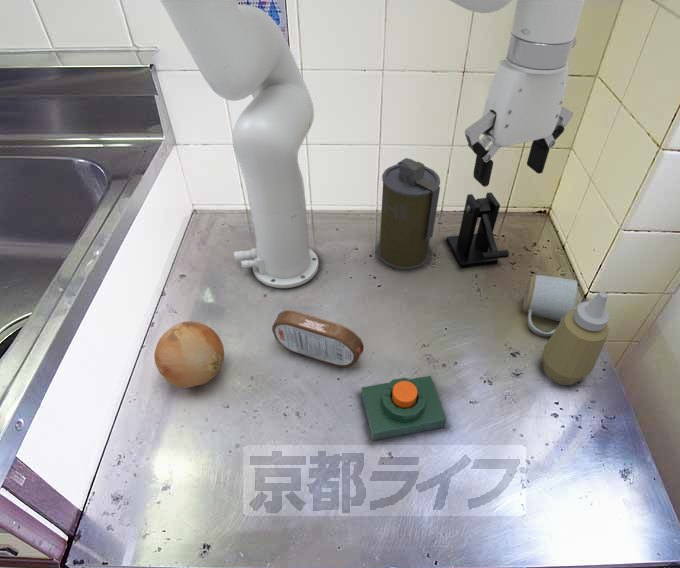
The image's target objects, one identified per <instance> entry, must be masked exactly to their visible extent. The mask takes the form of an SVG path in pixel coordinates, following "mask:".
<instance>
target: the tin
mask: <svg viewBox="0 0 680 568" xmlns="http://www.w3.org/2000/svg"><path fill="white" fill-rule="evenodd" d="M271 331H272V334H273V336H274V338H275V340H276V341H277V342H278V343H279V344H280V345H281V346H282V347H284V348H285V349H287V350H288V351H290V352H292V353H295V354H298V355H301V356H304V357H307V358H310V359H313V360H317V361H320V362H321V363H325V364H329V365H332V366H335V367H339V368H349V367H353V366H354V365H356V363H357V362H358V361H359V359H360V357H361V355H362V354H363V352H364V342H363V341H362V339H361V338H360V336H359V335H358V334H357V333H356V332H355V331H354V330H351V329H350V328H349V327H347V326H345V325H342V324H340V323H336V322H333V321H331V320H326V319H323V318H319V317H316V316H314V315H311V314H307V313H304V312H302V311H301V312H300V311H298V310H292V309H287V310H283V311H280V312H279V313H278V314H277V317H276V319H275V321H274V322H273V323H272V326H271Z"/></svg>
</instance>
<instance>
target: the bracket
mask: <svg viewBox="0 0 680 568" xmlns="http://www.w3.org/2000/svg"><path fill="white" fill-rule="evenodd" d="M485 198H488V202H489V205H490V209H491V211H490V213H489V214H488V218H489V221H490V225H491V228H492V232H493V233H494V230H495V226H496V222H497V220H498V219H497V218H498V216H499V211H500V207H501V203H499V202H498V199H497V198H496V196H494V193H493V192H487V193H486V195H485ZM476 199H477V198H475V196H474V194H472V193H468V194H467V195H466V199H465V200H466V201H465V205H464V210H463V214H462V219H461V222H460V223H461V224H460V228H459V233H458V235H452V236H451V235H449V236H446V240H445V242H446V244H447V245H448V247H449V250H450V252H451V253H452V255H453V257H454V259H455V261H456V263H457V265H458V267H459V269H468V268H474V267H475V268H476V267H477V268H478V267H484V266H493V265H497V264H498V262H499V258H498V259H490V260H482V259H481V253H482V252H490V250H489V246H488V242H487V239H486V235H485V231H484V228H483V224H482V221H481V218H480V220H479V223H478V215H479V211H480V206H479V204H478V203H477V201H476ZM477 224H478V228H476V227H477ZM476 229H477V232H476Z"/></svg>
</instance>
